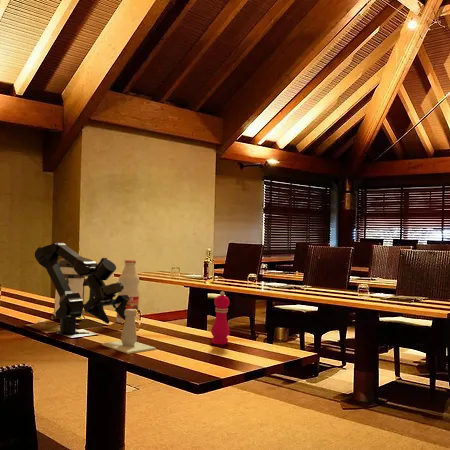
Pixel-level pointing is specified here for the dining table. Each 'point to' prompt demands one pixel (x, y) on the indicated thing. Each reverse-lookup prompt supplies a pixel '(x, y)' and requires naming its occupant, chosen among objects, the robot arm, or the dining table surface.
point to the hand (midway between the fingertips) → (117, 321)
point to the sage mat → (132, 349)
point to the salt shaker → (129, 328)
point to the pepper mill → (220, 320)
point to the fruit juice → (129, 286)
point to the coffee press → (70, 283)
